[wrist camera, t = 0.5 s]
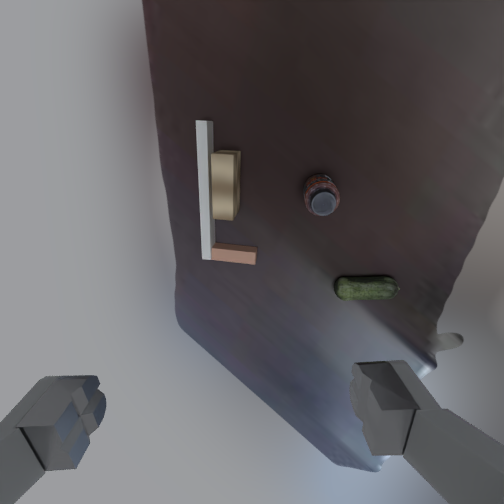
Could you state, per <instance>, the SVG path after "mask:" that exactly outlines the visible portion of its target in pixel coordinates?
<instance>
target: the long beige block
mask: <svg viewBox="0 0 504 504" xmlns="http://www.w3.org/2000/svg"><path fill="white" fill-rule="evenodd" d="M240 157H241V151H230V150H219V151H217V152H214V153H211V171H212V205H213V219H221V220H232V221H233V220H234V218H235V216H236V215H237V213H238V211H239V204H240Z"/></svg>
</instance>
